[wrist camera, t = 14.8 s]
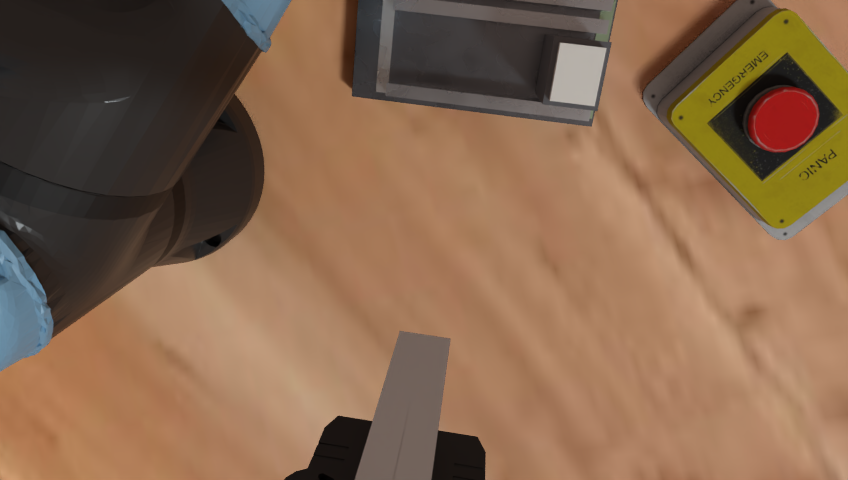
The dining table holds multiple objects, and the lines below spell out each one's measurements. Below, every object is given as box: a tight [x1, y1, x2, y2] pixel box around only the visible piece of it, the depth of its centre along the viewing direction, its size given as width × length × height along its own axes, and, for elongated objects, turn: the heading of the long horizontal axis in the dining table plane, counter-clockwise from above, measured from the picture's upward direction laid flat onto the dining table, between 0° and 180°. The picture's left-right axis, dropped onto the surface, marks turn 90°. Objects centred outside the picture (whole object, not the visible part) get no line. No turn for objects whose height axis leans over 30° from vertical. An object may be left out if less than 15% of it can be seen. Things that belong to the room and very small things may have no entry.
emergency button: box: [643, 0, 848, 240], centre depth 38 cm, size 9×4×15 cm
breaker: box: [535, 34, 612, 111], centre depth 35 cm, size 3×4×7 cm
